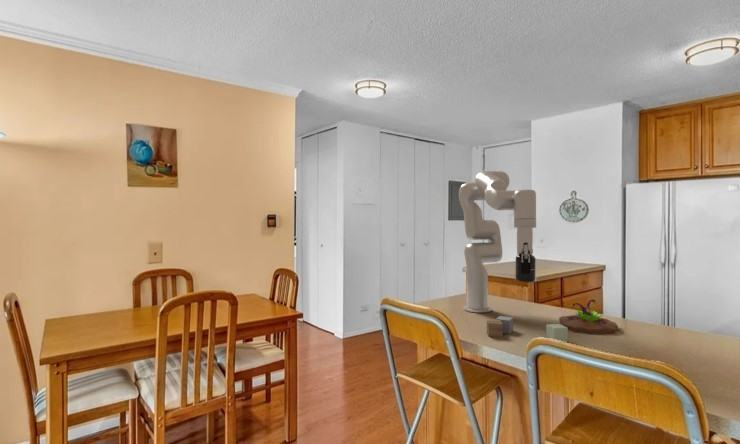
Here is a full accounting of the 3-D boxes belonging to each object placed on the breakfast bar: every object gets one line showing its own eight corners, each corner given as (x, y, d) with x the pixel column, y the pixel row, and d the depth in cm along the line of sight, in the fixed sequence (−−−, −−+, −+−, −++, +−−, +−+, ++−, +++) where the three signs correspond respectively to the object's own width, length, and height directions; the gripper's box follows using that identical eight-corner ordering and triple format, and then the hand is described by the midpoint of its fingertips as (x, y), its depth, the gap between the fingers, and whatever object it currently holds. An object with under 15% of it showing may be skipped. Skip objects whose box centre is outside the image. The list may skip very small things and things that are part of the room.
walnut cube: (486, 332, 148) (486, 319, 148) (500, 333, 147) (500, 320, 147) (488, 336, 143) (488, 323, 143) (502, 337, 142) (502, 323, 142)
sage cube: (546, 338, 140) (546, 324, 140) (559, 337, 140) (559, 323, 140) (554, 342, 135) (553, 328, 135) (567, 342, 135) (567, 327, 135)
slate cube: (500, 328, 153) (499, 316, 153) (513, 330, 150) (513, 317, 150) (496, 331, 149) (496, 318, 149) (509, 333, 146) (509, 320, 146)
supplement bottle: (532, 282, 138) (532, 249, 138) (513, 281, 142) (512, 248, 142) (537, 280, 144) (537, 247, 143) (518, 278, 148) (518, 247, 147)
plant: (626, 337, 141) (625, 306, 141) (566, 333, 146) (566, 303, 146) (609, 322, 160) (608, 295, 160) (556, 319, 165) (556, 293, 165)
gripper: (513, 223, 152) (514, 268, 152) (514, 224, 136) (514, 275, 136) (534, 223, 149) (535, 269, 150) (537, 224, 133) (538, 276, 133)
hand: (525, 271), depth 143 cm, fingers closed on supplement bottle, 6 cm apart
